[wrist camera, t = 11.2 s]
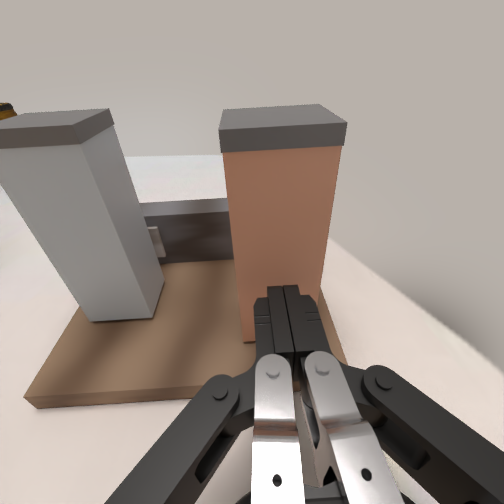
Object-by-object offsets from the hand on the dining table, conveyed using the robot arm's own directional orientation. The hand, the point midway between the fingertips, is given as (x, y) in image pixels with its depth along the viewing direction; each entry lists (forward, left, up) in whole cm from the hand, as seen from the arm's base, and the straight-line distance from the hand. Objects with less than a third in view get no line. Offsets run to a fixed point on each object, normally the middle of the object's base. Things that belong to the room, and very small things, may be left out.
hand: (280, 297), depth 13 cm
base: (-5, +6, -7) cm, 10 cm away
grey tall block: (-11, +6, -5) cm, 13 cm away
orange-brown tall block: (0, +3, -5) cm, 6 cm away
